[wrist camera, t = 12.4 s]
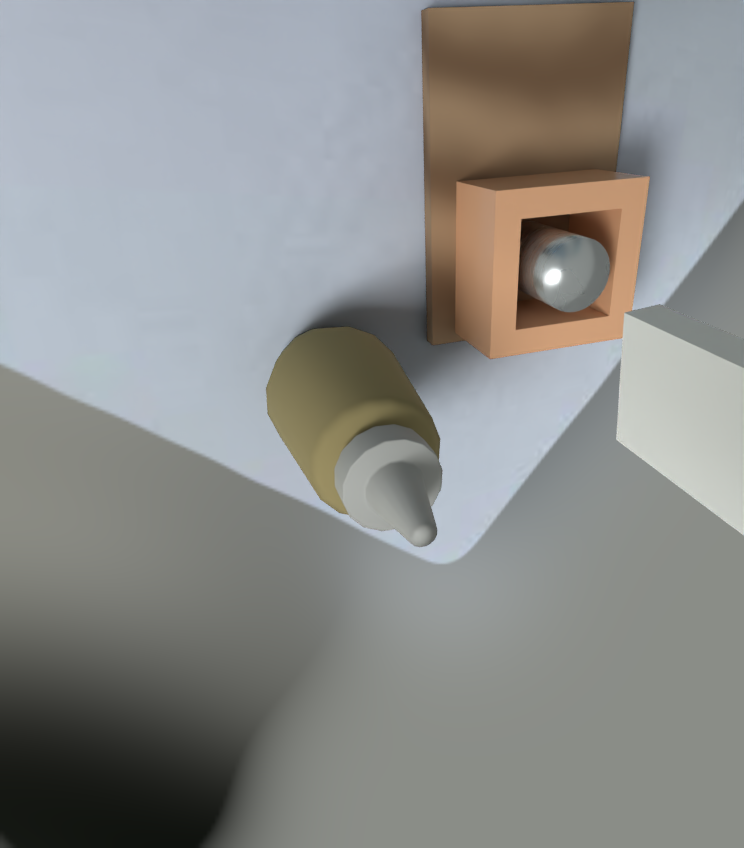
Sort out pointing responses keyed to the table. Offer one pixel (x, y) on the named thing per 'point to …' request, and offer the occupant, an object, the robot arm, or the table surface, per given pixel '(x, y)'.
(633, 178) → the collar
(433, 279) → the board
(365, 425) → the squeeze bottle
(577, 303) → the post
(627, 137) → the table surface
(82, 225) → the table surface
